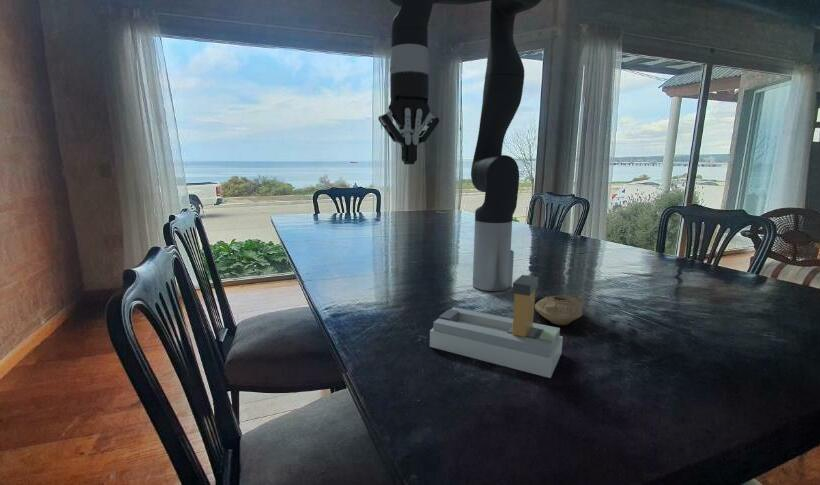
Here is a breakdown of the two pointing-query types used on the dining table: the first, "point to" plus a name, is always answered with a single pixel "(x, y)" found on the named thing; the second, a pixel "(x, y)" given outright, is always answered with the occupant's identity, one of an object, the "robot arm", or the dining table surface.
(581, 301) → the pottery oil lamp
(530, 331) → the breaker lever
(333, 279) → the dining table surface
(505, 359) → the base
